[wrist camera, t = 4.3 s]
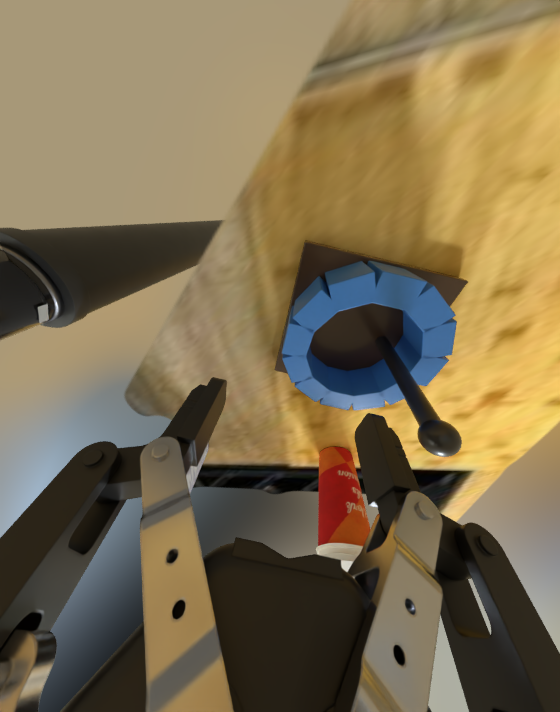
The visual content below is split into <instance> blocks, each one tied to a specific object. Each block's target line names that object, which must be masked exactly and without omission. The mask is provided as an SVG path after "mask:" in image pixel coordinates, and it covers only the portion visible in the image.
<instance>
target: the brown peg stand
mask: <svg viewBox="0 0 560 712" xmlns="http://www.w3.org/2000/svg"><path fill="white" fill-rule="evenodd" d="M369 260H370V261H374V262H378V263H382V264H386V265H391V266H395V267H399V268H403V269H405V270H407V271H409V272H411V273H413V274H415V275H416V276H418V277H420V278H422V279H424V280H426V281H427V282H428V283H430V284H432V285H434V286H435V288H436V289H437V290H438V292H439V293H440V294H441V296H442V297H443V298H444V300H445V301H446V303H447V304H448V305H449V307H450V306H451V304H452V303H453V302H454V300H455V299H456V298H457V296H458V295H459V293H460V292H461V291H462V289H463V288H464V287H465V285H466V284H467V283H468V281H466V280H464V279H461V278H458V277H454V276H450V275H446V274H442V273H438V272H434V271H429V270H425V269H421V268H417V267H413V266H409V265H405V264H400V263H396V262H392V261H388V260H384V259H380V258H376V257H371V256H367V255H363V254H359V253H355V252H351V251H346V250H342V249H338V248H334V247H330V246H326V245H322V244H317V243H313V242H309V241H305V243H304V247H303V252H302V256H301V260H300V264H299V268H298V273H297V277H296V281H295V285H294V290H293V294H292V298H291V302H290V307H289V311H288V315H287V319H286V324H285V328H284V332H283V336H282V340H281V345H280V349H279V353H278V357H277V362H276V366H275V370H276V371H280V372H285V373H288V372H287V370H286V367H285V365H284V362H283V360H282V356H283V354H282V348H283V343H284V338H285V332H286V328H287V324H288V320H289V316H290V312H291V308H292V306H294V304H295V300H296V299H297V298H298V297H299V296H300V295H301V294H302V293H303V292H304V291H305V290H306V289H307V288H308V287H309V286H310V285H311V284H312V282H313V281H314V280H315V279H316V278H317V277H318V276H320V277H321V278H322V279H323V280H324V281H325V283H326V284H327V282H326V277H325V272H328V271H331V270H334V269H337V268H340V267H343V266H347V265H350V264H353V263H356V262H359V261H362V262H363V263H365V264H366V265H367V263H368V261H369ZM402 336H403V311H402V310H400V309H396V308H392V307H388V306H383V305H379V304H375V303H370V304H366V305H362V306H358V307H354V308H350V309H347V310H343V311H339V312H337V313H336V314H335V315H334V316H333V317H331V318H330V319H329V320H328V321H327V322H326V323H324V324H323V325H322V326H321V327H320V328H319V329H317V330H316V331H315V332H314V334H313V337H312V340H311V343H310V349H311V352H312V354H313V355H314V356H315V357H316V358H318V359H319V360H320V361H321V362H322V363H323V364H325V365H326V366H328V367H332V368H337V369H341V370H345V371H350V370H356V369H361V368H367V367H371V366H372V365H374V364H376V363H377V362H379V361H380V360H382V359H384V360H385V362H386V364H387V366H388V368H389V370H390V372H391V374H392V375H393V377H394V379H395V381H396V383H397V385H398V387H399V389H400V390H401V392H402V394H403V396H404V398H405V400H406V402H407V404H408V405H409V407H410V409H411V411H412V413H413V415H414V417H415V419H416V420H417V422H418V424H419V426H420V427H419V429H418V439H419V442H420V443H421V445H422V446H423V447H424V448H425V449H426V450H427V451H428V452H430V453H432V454H434V455H437V456H442V457H448V456H452V455H454V454H456V453H457V452H458V451H459V450H460V448H461V444H462V440H461V437H460V434H459V433H458V431H457V430H456V429H455V428H454V427H453V426H452V425H451V424H449V423H447V422H445V421H442V420H440V418H439V416H438V415H437V413H436V412H435V410H434V409H433V407H432V406H431V404H430V403H429V401H428V400H427V398H426V397H425V395H424V394H423V392H422V390H421V389H420V387H419V386H418V384H417V383H416V381H415V380H414V378H413V377H412V375H411V374H410V372H409V371H408V369H407V368H406V366H405V364H404V363H403V361H402V360H401V358H400V357H399V355H398V354H397V352H396V351H395V349H394V348H395V346H396V345H397V343H398V342H399V340H400V339H401V337H402Z"/></svg>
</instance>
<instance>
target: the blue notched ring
mask: <svg viewBox="0 0 560 712" xmlns="http://www.w3.org/2000/svg"><path fill="white" fill-rule="evenodd" d="M325 277H326V282H327V284H326V283H325V281H324V280H323V279H322V278H321V277H320V276H318V277H317V278H316V279H315V280H314V281H313V282H312V284H311V285H310V286H309V287H308V288H307V289H306V290H305V291H304V292H303V293H302V294H301V295H300V296H299V297H298V298H297V299H296V300H295V304H294V306H292V308H291V312H290V316H289V320H288V324H287V328H286V332H285V338H284V343H283V348H282V354H283V356H282V360H283V362H284V365H285V367H286V370H287V372H288V375H289V377H290V380H291V382H292V383H293V382H295V387H296V388H298V389H299V390H300V391H302V392H303V393H304V394H306V395H307V396H308V397H310V398H311V399H312V400H314V401H315V402H317V401H318V400H320V404H322V405H327V406H331V407H336V408H340V409H345V410H349V408H350V407H351V405H352V407H353V410H361V409H369V408H377V407H385V400H386V401H387V402H388V403H389V404H390V405H392V404H394V403H396V402H398V401H400V400H402V399H404V396H403V394H402V392H401V390H400V389H399V387H398V385H397V383H396V381H395V379H394V377H393V375H392V374H391V372H390V370H389V368H388V366H387V364H386V362H385V360H384V359H382V360H380V361H379V362H377V363H376V364H374V365H372V366H371V367H367V368H361V369H356V370H350V371H345V370H341V369H337V368H332V367H328V366H326V365H325V364H323V363H322V362H321V361H320V360H319V359H318V358H316V357H315V356H314V355H313V354H312V352H311V349H310V343H311V340H312V337H313V334H314V332H315V331H316V330H317V329H319V328H320V327H321V326H322V325H323V324H324V323H326V322H327V321H328V320H329V319H330V318H331V317H333V316H334V315H335V314H336V313H337V312H339V311H343V310H347V309H350V308H354V307H358V306H362V305H366V304H370V303H375V304H379V305H383V306H388V307H392V308H396V309H400V310H402V311H403V336H402V337H401V339H400V340H399V342H398V343H397V345H396V346H395V348H394V349H395V351H396V352H397V354H398V355H399V357H400V358H401V360H402V361H403V363H404V364H405V366H406V368H407V369H408V371H409V372H410V374H411V375H412V377H413V378H414V380H415V381H416V383H417V384H418V385H422V386H427V385H428V384H429V382H430V381H431V380H432V379H433V378H434V377H435V376H436V375H437V373H438V372H439V371H440V370H441V369H442V368H443V367H444V365H445V364H446V363H447V362H448V361H449V360H448V359H447V358H446V357H445V356H447V355H452V350H453V343H454V337H455V330H456V323H457V322H456V321H455V320H454V319H453V318H452V317H454V316H455V314H454V312H453V311H452V309H451V308H450V307H449V305H448V304H447V303H446V301H445V300H444V298H443V297H442V296H441V294H440V293H439V292H438V290H437V289H436V288H435V286H434V285H432V284H430V283H428V282H427V281H426V280H424V279H422V278H420V277H418V276H416V275H415V274H413V273H411V272H409V271H407V270H405V269H403V268H399V267H395V266H391V265H386V264H382V263H378V262H374V261H370V260H369V261H368V263H367V265H366V264H365V263H363V262H362V261H359V262H356V263H353V264H350V265H347V266H343V267H340V268H337V269H334V270H331V271H328V272H325Z"/></svg>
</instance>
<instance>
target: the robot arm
mask: <svg viewBox="0 0 560 712" xmlns="http://www.w3.org/2000/svg"><path fill="white" fill-rule="evenodd" d="M63 311H64V302H63V298H62V296H61V293H60V291H59V289H58V288H57V286H56V285H55V283H54V282H53V280H52V279H51V278H50V277H49V275H48V274H47V273H46V272H45V271H44V270H43V269H42V268H41V267H40V266H39V265H38V264H36V263H35V262H34V261H33V260H32V259H30V258H29V257H28V256H26V255H25V254H23V253H21V252H20V251H18V250H16V249H14V248H12V247H10V246H7V245H5V244H1V243H0V340H3V339H5V338H8V337H10V336H13V335H15V334H18V333H20V332H23V331H25V330H28V329H30V328H33V327H35V326H38V325H40V324H43V323H47V322H50V321H52V320H55V319H57V318H59V317H60V316H61V315H62V314H63ZM226 384H227V381H226V380H223V379H218V378H214V377H212V378H211V380H210V382H209V383H208V385H207V386H205V385H199V386H198V387H196V388H195V389H193V390H192V391H191V393H190V394H189V396H188V397H187V399H186V400H185V402H184V403H183V405H182V407H181V408H180V409H179V411H178V412H177V414H176V415H175V417H174V418H173V420H172V421H171V423H170V424H169V426H168V427H167V429H166V430H165V432H164V433H163V434H162V435H161V436H160V437H159V438H157V439H155V440H153V441H152V442H150V443H149V444H147V445H143V446H137V447H127V448H117V447H116V445H115V444H113V443H111V442H106V441H103V442H97V443H94V444H91V445H89V446H87V447H85V448H84V449H82V450H81V451H79V452H78V453H77V454H76V455H75V456H74V457H73V458H72V459H71V460H70V462H69V463H68V464H67V465H66V466H65V467H64V468H63V469H62V470H61V472H60V473H59V474H58V475H57V476H56V477H55V478H54V479H53V480H52V481H51V483H50V484H49V485H48V486H47V487H46V488H45V489H44V490H43V491H42V493H41V494H40V495H39V496H38V497H37V498H36V499H35V500H34V501H33V503H32V504H31V505H30V506H29V507H28V508H27V509H26V510H25V511H24V513H23V514H22V515H21V516H20V517H19V518H18V519H17V521H15V522H14V524H13V525H12V526H11V527H10V528H9V529H8V530H7V531H6V533H5V534H4V535H3V536H2V537H1V538H0V712H38V707H39V701H40V696H41V692H42V690H43V687H44V684H45V682H46V679H47V677H48V675H49V673H50V670H51V668H52V666H53V663H54V659H55V655H56V647H57V644H56V639H55V636H54V635H53V633H51V632H50V630H51V628H52V627H53V625H54V623H55V622H56V620H57V618H58V616H59V615H60V613H61V611H62V609H63V608H64V606H65V604H66V603H67V601H68V599H69V598H70V596H71V594H72V592H73V591H74V589H75V587H76V586H77V584H78V582H79V580H80V579H81V577H82V575H83V574H84V572H85V570H86V569H87V567H88V565H89V563H90V562H91V560H92V558H93V556H94V555H95V553H96V551H97V549H98V548H99V546H100V544H101V543H102V541H103V539H104V538H105V536H106V534H107V533H108V531H109V529H110V527H111V526H112V524H113V522H114V521H115V519H116V517H117V515H118V513H119V512H120V510H121V508H122V507H123V505H124V503H125V502H126V500H127V499H132V498H138V497H142V505H143V515H142V518H141V521H140V541H141V542H140V543H141V566H142V590H143V613H144V621H143V622H142V624H141V625H140V626H139V627H138V628H137V629H136V630H135V631H134V632H133V633H132V635H130V637H129V638H128V639H127V640H126V641H125V642H124V643H123V644H122V645H121V646H120V647H119V648H118V650H117V651H116V652H115V653H114V654H113V655H112V656H111V657H110V658H109V660H107V661H106V663H105V664H104V665H103V666H102V667H101V668H100V669H99V670H98V671H97V672H96V673H95V674H94V675H93V677H92V678H91V679H90V680H89V681H88V682H87V683H86V684H85V685H84V687H82V689H81V690H80V691H79V692H78V693H77V694H76V695H75V696H74V697H73V698H72V699H71V701H70V702H69V703H68V704H67V705H66V706H65V707H64V708H63V709H62V710H61V711H60V712H431V710H430V708H429V706H428V701H429V694H430V685H431V679H432V671H433V663H434V657H435V649H436V642H437V634H438V627H439V619H440V614H441V618H442V621H443V625H444V628H445V631H446V635H447V638H448V641H449V645H450V648H451V652H452V655H453V658H454V662H455V665H456V669H457V672H458V675H459V679H460V682H461V685H462V689H463V691H464V695H465V699H466V702H467V706H468V709H469V712H560V653H559V652H558V650H557V648H556V646H555V644H554V642H553V641H552V639H551V637H550V635H549V633H548V631H547V630H546V628H545V626H544V624H543V622H542V620H541V619H540V617H539V615H538V613H537V611H536V609H535V607H534V606H533V604H532V602H531V600H530V598H529V596H528V595H527V593H526V591H525V589H524V587H523V585H522V584H521V582H520V580H519V578H518V576H517V574H516V573H515V571H514V569H513V567H512V565H511V564H510V562H509V560H508V558H507V556H506V554H505V552H504V551H503V549H502V547H501V546H500V544H499V543H498V542H497V540H496V539H495V538H494V537H493V536H492V535H491V534H490V533H489V532H488V531H487V530H486V529H484V528H483V527H481V526H480V525H478V524H475V523H467V524H465V525H460V524H458V523H457V522H455V521H453V520H451V519H450V518H448V517H446V516H444V515H443V514H441V513H439V511H438V509H437V507H436V506H435V505H434V503H433V502H432V501H431V500H430V499H429V498H428V497H426V496H425V495H423V494H422V493H421V492H420V489H419V487H418V484H417V482H416V480H415V477H414V475H413V472H412V470H411V467H410V465H409V462H408V460H407V458H406V455H405V452H404V450H403V449H402V448H403V447H402V445H401V442H400V440H399V438H398V436H397V435H396V434H395V432H394V431H393V430H392V428H388V425H387V423H386V420H385V418H384V417H383V416H379V415H375V414H370V413H368V414H367V415H366V416H365V417H364V419H363V420H362V422H361V423H360V424H359V426H358V427H357V429H356V431H355V442H356V447H357V452H358V457H359V462H360V466H361V471H362V476H363V481H364V486H365V491H366V496H367V500H368V505H369V506H373V507H378V510H379V514H378V515H377V516H376V518H375V521H374V523H373V525H372V527H371V530H370V532H369V534H368V537H367V539H366V541H365V543H364V546H363V548H362V550H361V552H360V554H359V555H358V557H357V558H356V559H355V560H354V562H353V563H352V565H351V566H350V568H349V570H348V572H346V571H345V570H344V569H342V566H341V560H339V559H335V558H330V557H325V556H321V555H315V554H314V555H308V556H302V557H296V558H286V557H284V556H282V555H281V554H279V553H277V552H276V551H274V550H273V549H271V548H269V547H268V546H266V545H264V544H263V543H260V542H255V541H251V540H246V539H241V538H237V537H236V538H235V542H234V543H231V544H226V545H224V546H220V547H219V548H216V549H215V550H213V551H211V552H210V553H208V554H207V555H206V556H205V557H202V552H201V547H200V542H199V538H198V533H197V528H196V523H195V518H194V513H193V508H192V503H191V498H190V493H189V489H188V484H187V479H186V475H187V473H188V471H189V469H190V466H195V467H197V466H198V464H199V462H200V460H201V457H202V455H203V453H204V451H205V448H206V446H207V444H208V442H209V439H210V437H211V435H212V433H213V430H214V428H215V426H216V424H217V421H218V419H219V417H220V415H221V412H222V410H223V408H224V405H225V400H226ZM471 578H472V580H473V582H474V584H475V587H476V589H477V592H478V594H479V597H480V599H481V601H482V604H483V606H484V608H485V611H486V613H487V616H488V618H489V621H490V624H491V635H490V633H489V631H488V628H487V626H486V623H485V621H484V618H483V616H482V613H481V611H480V609H479V606H478V603H477V601H476V598H475V596H474V593H473V591H472V588H471V586H470V583H469V581H468V579H471Z"/></svg>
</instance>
